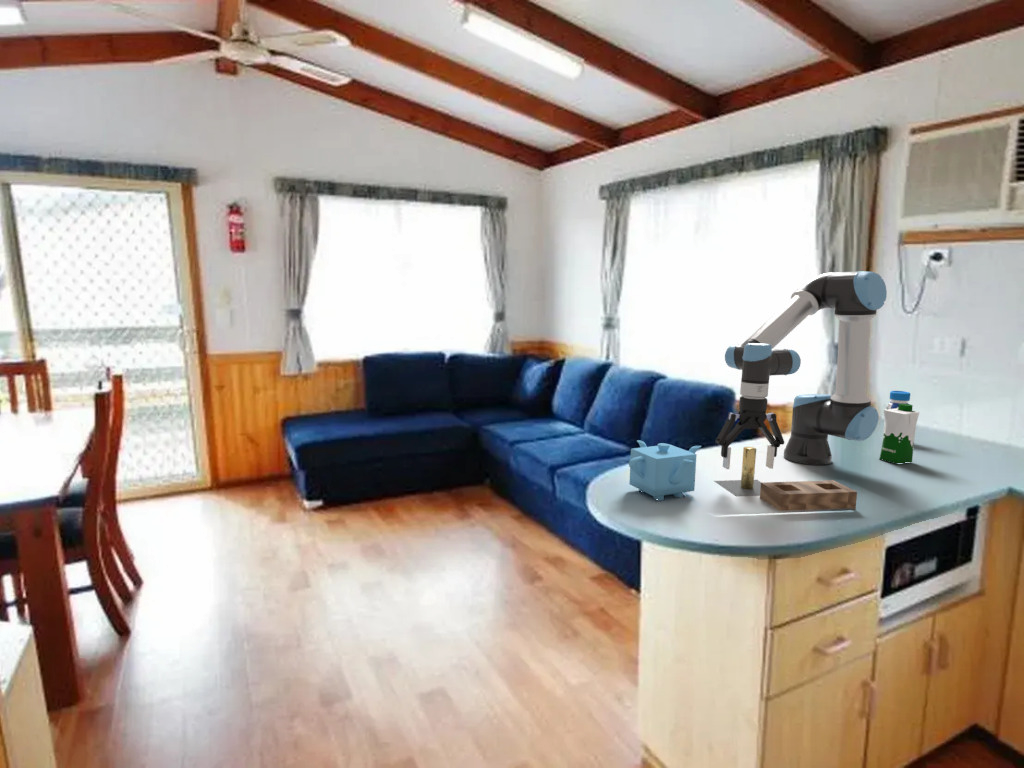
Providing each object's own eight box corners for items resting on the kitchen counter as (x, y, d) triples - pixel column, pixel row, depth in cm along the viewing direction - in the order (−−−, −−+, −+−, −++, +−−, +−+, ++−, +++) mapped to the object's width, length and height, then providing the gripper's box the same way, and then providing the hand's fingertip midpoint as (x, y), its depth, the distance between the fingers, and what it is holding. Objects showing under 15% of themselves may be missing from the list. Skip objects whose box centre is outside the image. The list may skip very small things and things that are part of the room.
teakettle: (623, 499, 170) (625, 448, 168) (635, 480, 187) (637, 433, 185) (693, 508, 163) (696, 455, 161) (698, 487, 181) (701, 439, 178)
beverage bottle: (886, 438, 246) (891, 389, 243) (910, 441, 240) (916, 392, 237) (879, 441, 240) (884, 391, 237) (903, 445, 234) (909, 394, 231)
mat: (756, 481, 188) (756, 479, 188) (782, 496, 174) (782, 494, 174) (713, 482, 186) (713, 480, 186) (736, 497, 172) (736, 496, 172)
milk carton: (916, 463, 210) (923, 406, 207) (898, 465, 206) (905, 408, 203) (891, 456, 218) (898, 402, 215) (874, 459, 214) (880, 403, 211)
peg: (749, 485, 182) (752, 446, 180) (755, 489, 178) (758, 449, 177) (738, 485, 181) (741, 446, 180) (744, 489, 178) (747, 449, 176)
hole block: (831, 497, 174) (833, 480, 173) (855, 509, 164) (857, 491, 163) (759, 499, 171) (760, 482, 170) (779, 512, 161) (780, 494, 160)
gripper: (718, 399, 170) (713, 472, 174) (801, 399, 174) (794, 470, 177) (707, 394, 178) (702, 464, 181) (786, 394, 181) (780, 463, 184)
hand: (747, 467), depth 179 cm, fingers open, 13 cm apart
